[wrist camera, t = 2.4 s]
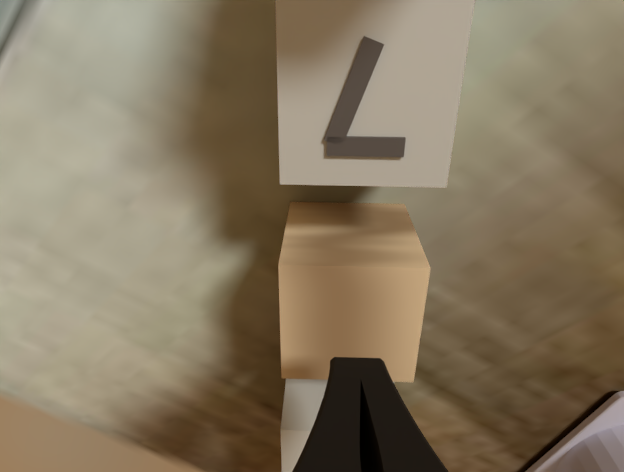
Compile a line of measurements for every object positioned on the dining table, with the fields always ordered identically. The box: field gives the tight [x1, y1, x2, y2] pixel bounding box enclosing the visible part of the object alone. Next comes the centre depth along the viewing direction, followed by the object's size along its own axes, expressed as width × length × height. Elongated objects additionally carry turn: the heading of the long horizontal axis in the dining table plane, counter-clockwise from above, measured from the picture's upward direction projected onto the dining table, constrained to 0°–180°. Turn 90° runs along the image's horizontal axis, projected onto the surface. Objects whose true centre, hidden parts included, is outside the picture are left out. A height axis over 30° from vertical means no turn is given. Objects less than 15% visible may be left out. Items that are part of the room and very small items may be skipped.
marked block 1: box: [280, 379, 394, 472], centre depth 20 cm, size 4×4×5 cm
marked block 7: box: [275, 0, 475, 188], centre depth 13 cm, size 4×4×5 cm
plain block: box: [278, 202, 430, 382], centre depth 16 cm, size 4×4×5 cm
